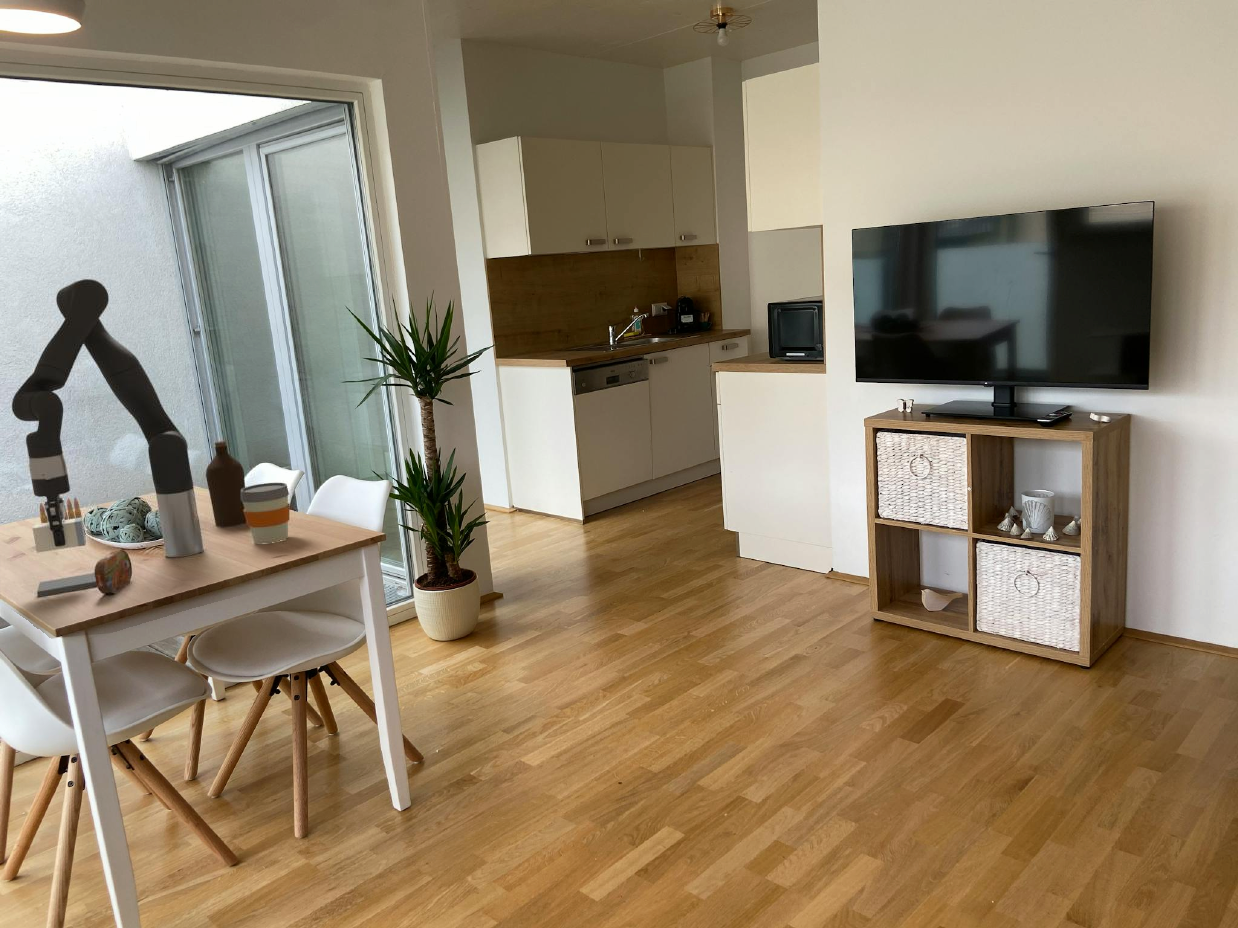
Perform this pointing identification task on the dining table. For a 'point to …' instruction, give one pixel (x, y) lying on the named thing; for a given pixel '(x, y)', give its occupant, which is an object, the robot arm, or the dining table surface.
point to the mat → (66, 584)
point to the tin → (113, 572)
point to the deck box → (71, 532)
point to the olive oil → (226, 487)
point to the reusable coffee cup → (266, 511)
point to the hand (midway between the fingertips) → (61, 543)
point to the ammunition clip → (70, 511)
